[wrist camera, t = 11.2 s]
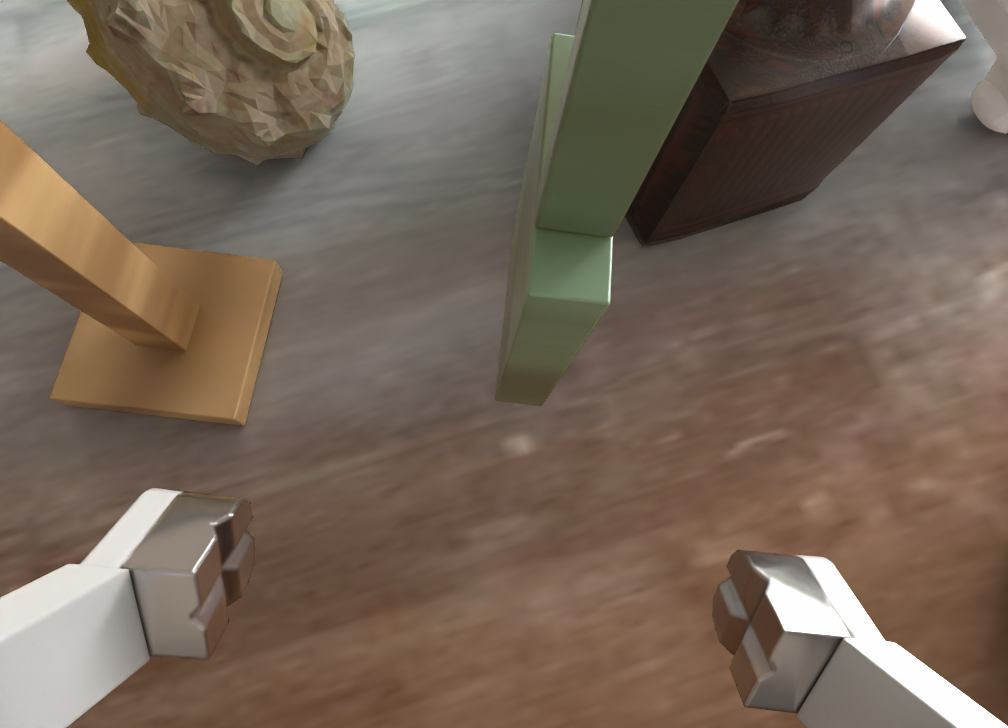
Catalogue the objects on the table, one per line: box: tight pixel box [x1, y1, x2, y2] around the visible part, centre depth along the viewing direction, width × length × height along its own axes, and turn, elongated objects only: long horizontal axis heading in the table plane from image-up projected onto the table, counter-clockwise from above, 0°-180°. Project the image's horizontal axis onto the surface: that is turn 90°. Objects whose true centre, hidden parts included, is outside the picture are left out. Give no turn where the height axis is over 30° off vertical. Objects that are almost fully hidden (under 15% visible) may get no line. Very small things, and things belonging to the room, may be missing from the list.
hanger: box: [495, 0, 739, 406], centre depth 11 cm, size 6×2×15 cm, turn 174°
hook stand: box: [0, 120, 283, 425], centre depth 14 cm, size 23×7×22 cm, turn 84°
